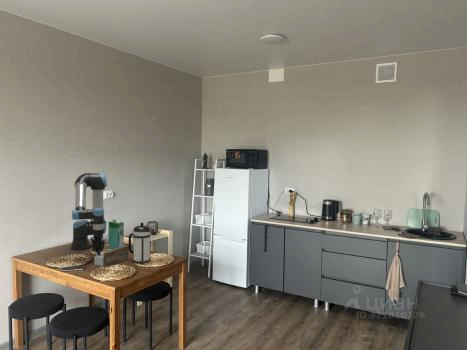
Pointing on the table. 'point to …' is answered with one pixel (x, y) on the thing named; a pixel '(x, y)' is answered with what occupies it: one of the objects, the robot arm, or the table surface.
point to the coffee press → (140, 243)
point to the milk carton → (115, 234)
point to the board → (115, 255)
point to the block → (98, 260)
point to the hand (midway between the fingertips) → (97, 260)
